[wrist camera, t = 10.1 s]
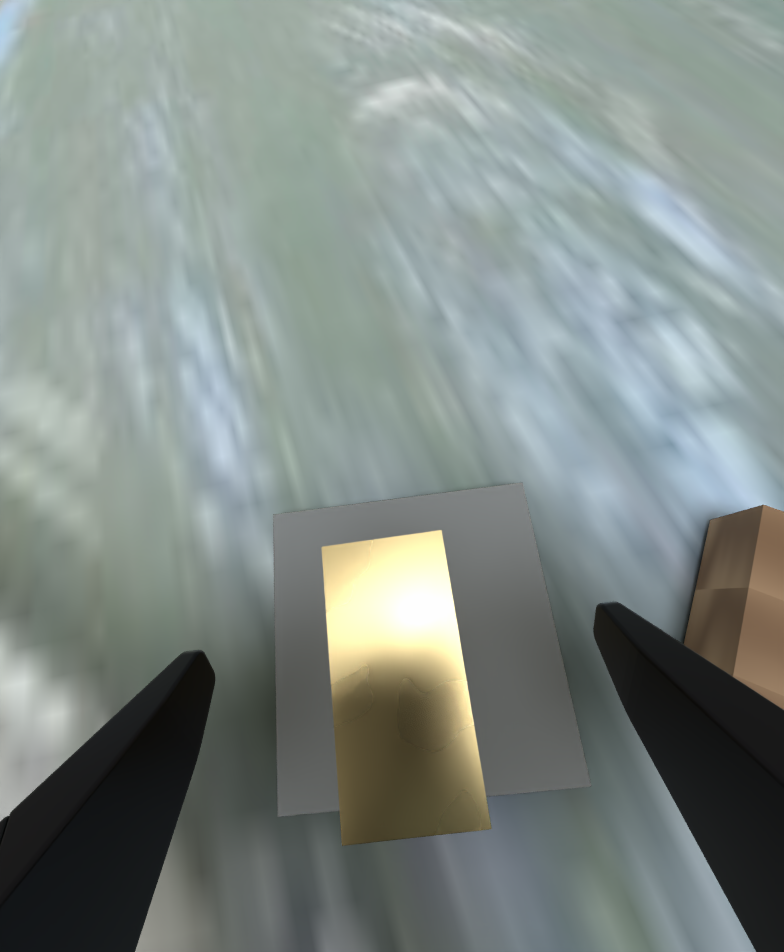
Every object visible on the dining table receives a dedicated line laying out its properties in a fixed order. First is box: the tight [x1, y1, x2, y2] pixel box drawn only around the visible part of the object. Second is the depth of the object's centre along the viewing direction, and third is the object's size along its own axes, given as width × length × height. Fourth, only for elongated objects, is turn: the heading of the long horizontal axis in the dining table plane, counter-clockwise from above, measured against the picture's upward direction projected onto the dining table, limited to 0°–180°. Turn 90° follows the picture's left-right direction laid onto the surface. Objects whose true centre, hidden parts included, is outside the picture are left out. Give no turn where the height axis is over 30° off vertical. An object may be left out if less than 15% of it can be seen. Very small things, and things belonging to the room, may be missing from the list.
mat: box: [273, 483, 591, 817], centre depth 17 cm, size 12×12×1 cm
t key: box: [322, 530, 491, 846], centre depth 12 cm, size 5×2×10 cm, turn 8°
